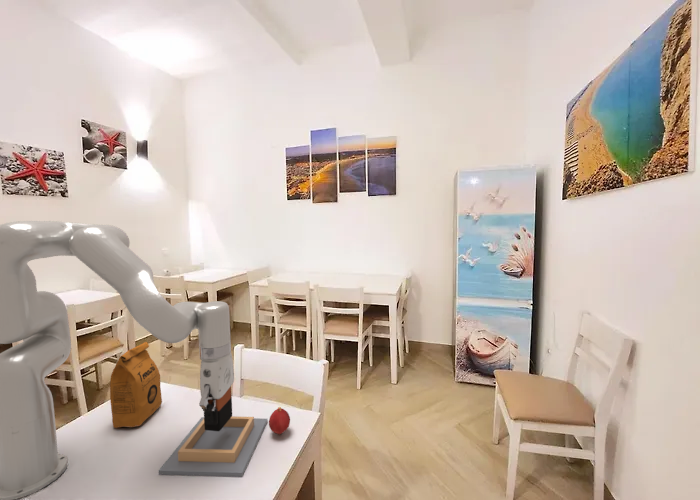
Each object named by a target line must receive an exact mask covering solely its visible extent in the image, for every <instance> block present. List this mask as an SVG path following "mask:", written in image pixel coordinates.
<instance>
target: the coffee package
mask: <svg viewBox="0 0 700 500" xmlns="http://www.w3.org/2000/svg"><path fill="white" fill-rule="evenodd" d="M149 347H150V345H149V343H148V342H147V341H144V342H143V343H141V344H138V345H137V346H134V347H132V348H131V349H128V350H127V351H126V352H124V353H123V354H121V355H120V356H119V358H118V360H117V362H116V364H115V367H114V368H113V370H112V373H111V375H110V382H109V383H110V384H109V393H110V394H109V397H110V409H111V418H112V419H111V420H112V427H113V428H114V429H117V428H123V427H127V428H134V427H140V426H141V425H142V424H143V423H144V422H145V421H146V420H147V419H148V418H150V417H151V416H152V415H153V414H154V413H155V412H156V411H157V410H158V409H159V408H160V407H161V405H162V403H163V399H162V391H161V389H162V388H161V374H160V370H159V368H158V366H157V365H156V362H155V361H154V360H153V359H152V358H151V356H150V354H149V352H148V351H149V350H147V349H148V348H149Z"/></svg>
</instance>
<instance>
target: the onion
mask: <svg viewBox="0 0 700 500" xmlns="http://www.w3.org/2000/svg"><path fill="white" fill-rule="evenodd" d="M290 424H291V417H290V414H289V412H288V411H287V410H285V409H284V408H282V407H280V406H279V407H277V409H275V410H274V411H273V412H272V413H271V415H270V416H269V420H268V426H269V429H270V431H271V432H273V433H275V434H277V435H279V436H280V435H282V434H283V433H284V432H286V431H287V429H289V427H290Z"/></svg>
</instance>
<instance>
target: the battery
mask: <svg viewBox="0 0 700 500" xmlns="http://www.w3.org/2000/svg"><path fill="white" fill-rule="evenodd" d="M209 397H213V396H212V394H209ZM232 399H233V397H232V385H231V386H230V388H229V389H228V390H227V392H226V393H225V394H224V395H223V396H222V397H221V398H220V399H216V403H217V404H216V409H218V423H217V425H206V424H205V419H204V426H205V430H209V431H220V430H221V429H222V428H223V427H224V425H225V424H226V423H227V422H228V420H229V419H230V418H231V417H232V416H233V400H232ZM208 403H209V404H211V405H212V404H213V400H208Z"/></svg>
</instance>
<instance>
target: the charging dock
mask: <svg viewBox="0 0 700 500" xmlns="http://www.w3.org/2000/svg"><path fill="white" fill-rule="evenodd" d="M268 423H269V420H268V418H258V417H257V418H255V417H254V416H237V415H236V416H235V415H232V417H231V418H230V419H229V420H228V422H227V423H226V424H225V425H224V427H223V428H222V429H221V430H220V431H209V430H205V426H204V416H203V417H200V418H199V420H198V421H197V422H196V424H195V425H194V426H193V427H192V428H191V429H190V431H189V432H188V433H187V434H186V436H185V437H184V439H183V440H182V441H181V442H180V444H179V445H178V446H177V447H175V448H176V449H175V450H173V452H172V454H171V455H169V457H168V458H167V459H166V461H165V462H164V463H163V464H162V465H161V467H160V468H159V469H158V475H162V476H163V475H166V476H168V475H169V476H197V477H198V476H200V477H201V476H202V477H235V478H237V477H238V478H239V477H240V478H242V477H243V476H244V474H245V472H246V469H247V467H248V465H249V463H250V461H251V458H252V456H253V454H254V453H255V450H256V448H257V446H258V443H259V441H260V439H261V437H262V434H263V432H264V430H265V428H266V426H267V425H268Z"/></svg>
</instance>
